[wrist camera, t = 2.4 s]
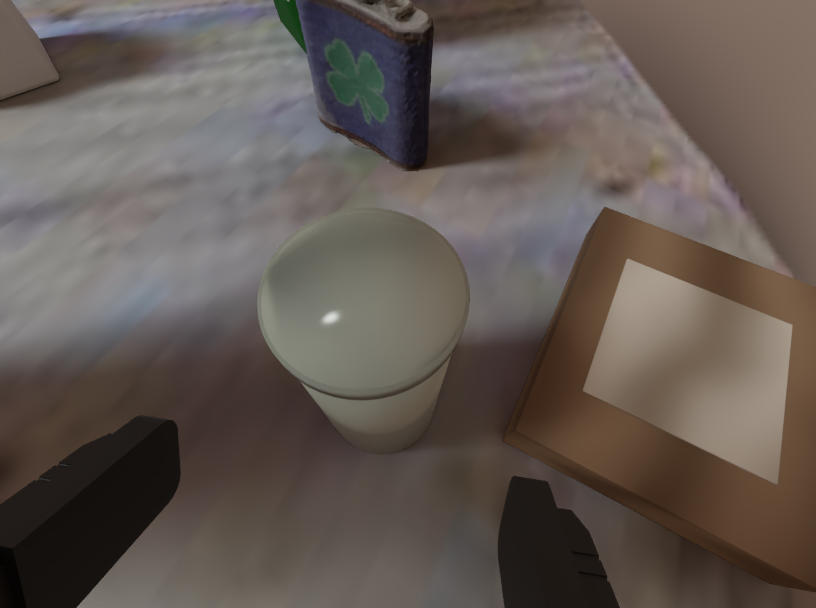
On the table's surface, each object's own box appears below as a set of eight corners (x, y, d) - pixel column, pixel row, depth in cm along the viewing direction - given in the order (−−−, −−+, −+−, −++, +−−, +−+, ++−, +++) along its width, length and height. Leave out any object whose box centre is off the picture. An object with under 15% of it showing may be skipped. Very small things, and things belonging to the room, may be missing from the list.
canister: (306, 421, 19) (211, 327, 10) (364, 331, 22) (333, 182, 12) (404, 478, 18) (407, 438, 9) (454, 377, 21) (502, 255, 11)
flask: (312, 121, 30) (271, -65, 20) (338, 101, 31) (312, -85, 21) (412, 179, 27) (420, -3, 18) (437, 154, 28) (457, -29, 19)
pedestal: (502, 440, 19) (515, 430, 17) (586, 234, 25) (605, 205, 23) (770, 584, 17) (830, 594, 14) (795, 317, 23) (839, 294, 20)
